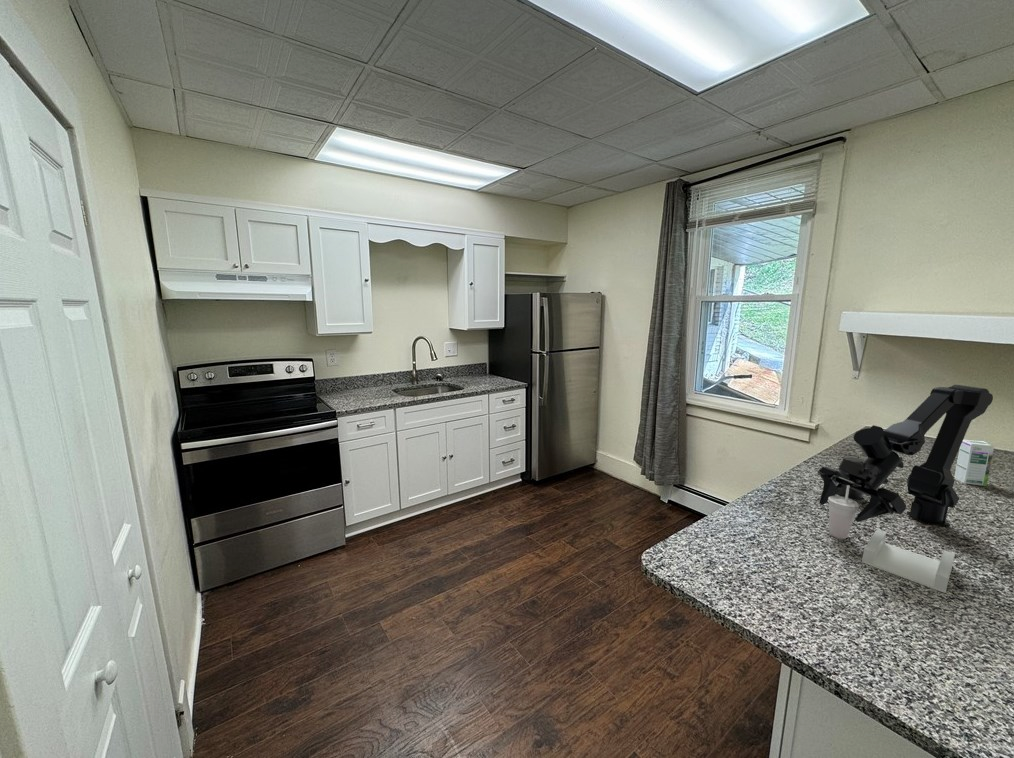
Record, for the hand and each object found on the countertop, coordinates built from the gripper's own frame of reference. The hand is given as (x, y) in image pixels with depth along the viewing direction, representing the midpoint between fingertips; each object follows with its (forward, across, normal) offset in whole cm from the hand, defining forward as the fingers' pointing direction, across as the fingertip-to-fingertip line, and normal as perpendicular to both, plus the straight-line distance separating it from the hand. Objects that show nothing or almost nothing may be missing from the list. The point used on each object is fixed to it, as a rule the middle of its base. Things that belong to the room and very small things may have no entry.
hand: (837, 512), depth 107 cm
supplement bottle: (-16, -18, +25) cm, 35 cm away
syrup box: (-52, -16, +62) cm, 82 cm away
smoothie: (+4, 0, +6) cm, 7 cm away
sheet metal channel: (+2, +14, +8) cm, 16 cm away
